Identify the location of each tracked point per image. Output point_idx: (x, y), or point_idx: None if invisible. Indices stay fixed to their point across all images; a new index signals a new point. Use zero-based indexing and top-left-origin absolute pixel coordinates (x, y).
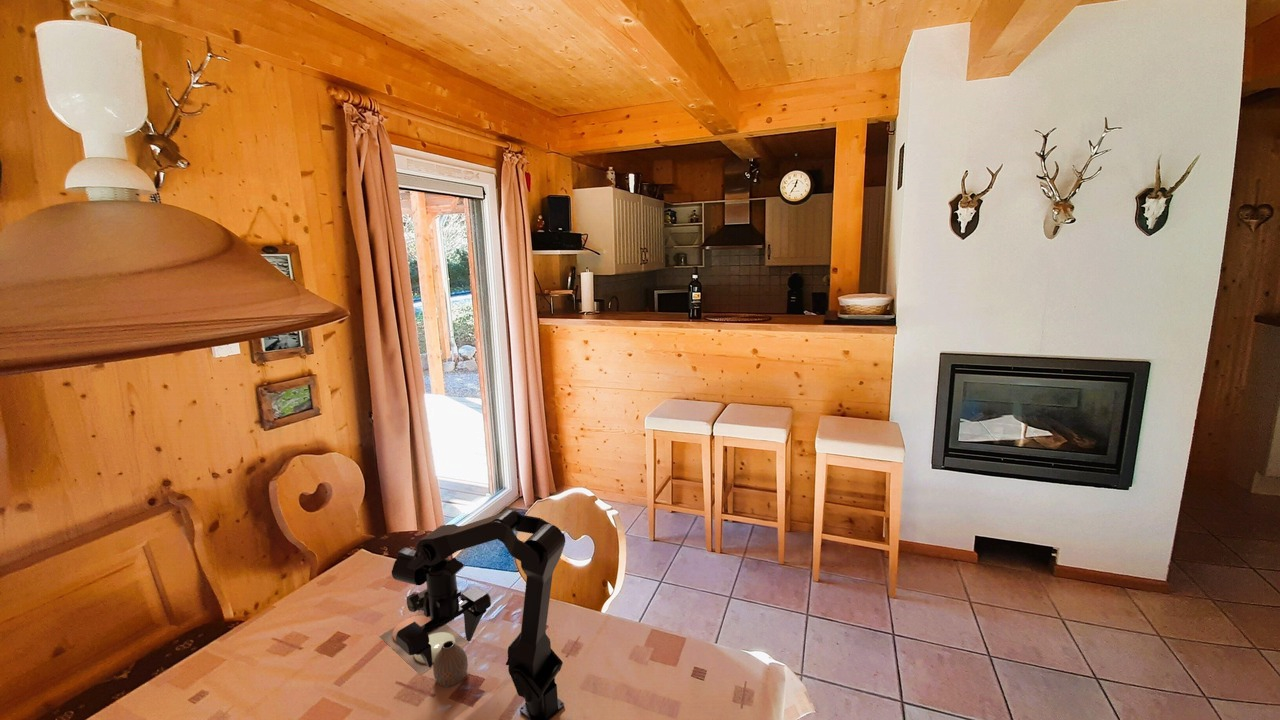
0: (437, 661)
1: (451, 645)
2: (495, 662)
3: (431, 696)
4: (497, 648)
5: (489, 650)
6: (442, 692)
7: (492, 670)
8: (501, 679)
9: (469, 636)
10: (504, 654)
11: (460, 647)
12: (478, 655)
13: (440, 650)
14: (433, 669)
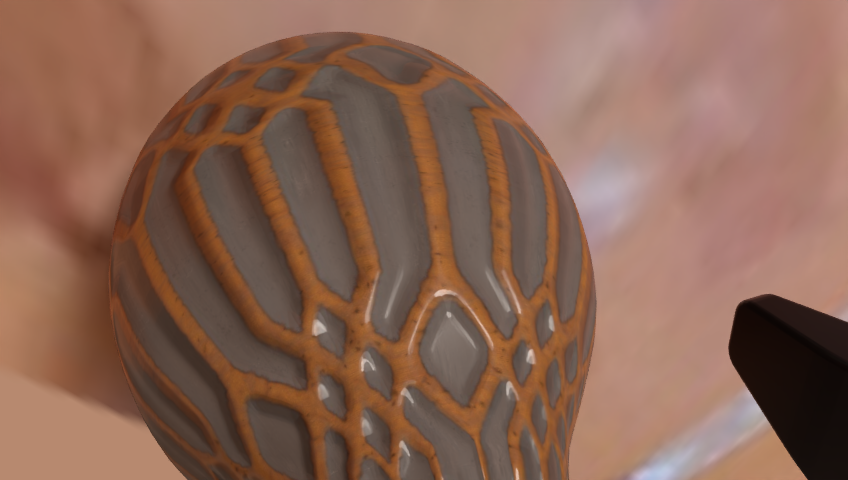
0: (174, 455)
1: (522, 237)
2: (686, 211)
3: (61, 248)
4: (813, 66)
5: (763, 37)
6: None
7: (617, 273)
8: (600, 376)
9: (802, 454)
10: (783, 174)
11: (584, 386)
12: (666, 25)
13: (285, 472)
14: (110, 295)
